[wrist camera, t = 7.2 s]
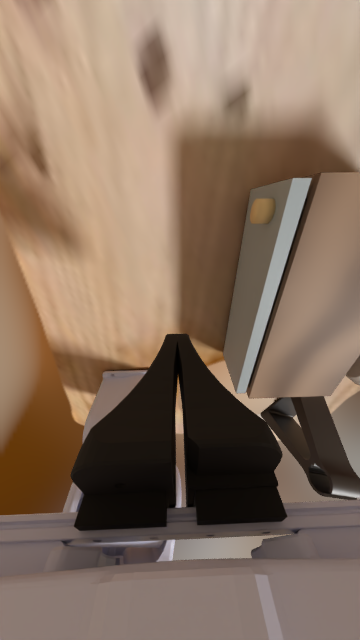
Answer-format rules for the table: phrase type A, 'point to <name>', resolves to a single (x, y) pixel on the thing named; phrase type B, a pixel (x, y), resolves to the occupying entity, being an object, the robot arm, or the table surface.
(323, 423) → the phone stand
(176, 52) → the table surface
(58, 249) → the table surface
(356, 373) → the grey curved piece
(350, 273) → the cabinet
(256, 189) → the door
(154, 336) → the table surface
